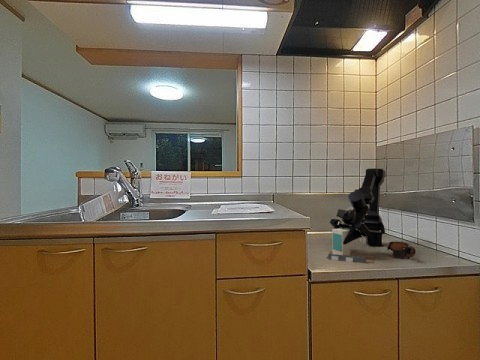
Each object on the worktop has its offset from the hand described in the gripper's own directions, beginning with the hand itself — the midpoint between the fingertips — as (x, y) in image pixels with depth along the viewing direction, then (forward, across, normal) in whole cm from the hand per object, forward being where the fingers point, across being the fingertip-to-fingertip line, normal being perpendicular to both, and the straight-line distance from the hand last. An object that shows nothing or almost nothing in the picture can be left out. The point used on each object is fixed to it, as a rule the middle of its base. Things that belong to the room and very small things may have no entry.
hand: (338, 242), depth 121 cm
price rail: (+6, +7, +3) cm, 10 cm away
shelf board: (+2, +3, +7) cm, 8 cm away
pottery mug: (-11, +12, +21) cm, 27 cm away
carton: (+3, 0, +5) cm, 6 cm away
